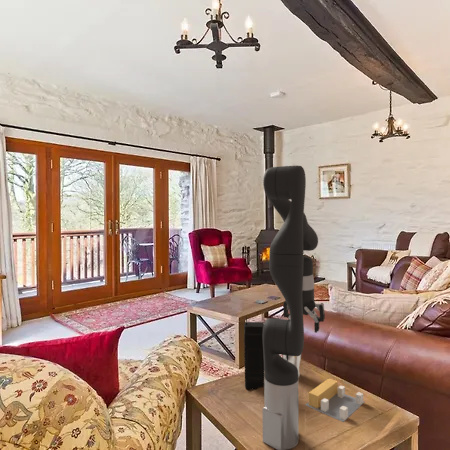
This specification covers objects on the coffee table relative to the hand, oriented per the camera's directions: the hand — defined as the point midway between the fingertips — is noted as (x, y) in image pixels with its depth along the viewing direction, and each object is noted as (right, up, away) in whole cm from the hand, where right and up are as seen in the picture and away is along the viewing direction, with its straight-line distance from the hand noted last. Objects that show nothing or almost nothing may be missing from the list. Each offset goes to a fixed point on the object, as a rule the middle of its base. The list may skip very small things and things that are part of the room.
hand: (304, 330), depth 125 cm
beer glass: (-3, -20, +7) cm, 21 cm away
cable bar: (+4, -19, -10) cm, 22 cm away
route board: (+7, -21, -13) cm, 25 cm away
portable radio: (-17, -20, +1) cm, 27 cm away
